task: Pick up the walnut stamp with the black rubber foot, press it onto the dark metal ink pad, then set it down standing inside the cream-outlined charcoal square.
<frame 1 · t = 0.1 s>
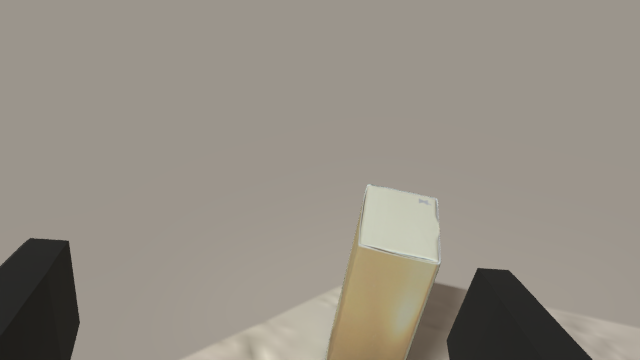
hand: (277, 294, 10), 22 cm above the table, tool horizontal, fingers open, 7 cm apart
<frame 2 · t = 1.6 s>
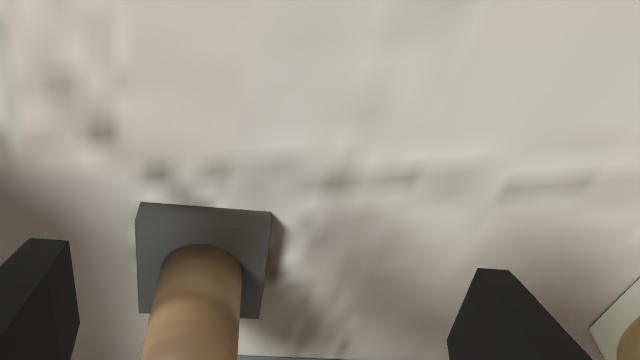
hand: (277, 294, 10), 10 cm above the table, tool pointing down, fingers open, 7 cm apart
stamp: (204, 253, 24), on the table
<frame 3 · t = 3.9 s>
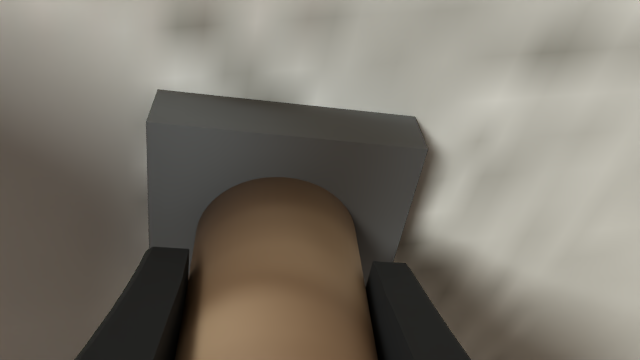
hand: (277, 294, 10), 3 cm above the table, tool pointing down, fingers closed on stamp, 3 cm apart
stamp: (276, 204, 12), on the table, touching gripper
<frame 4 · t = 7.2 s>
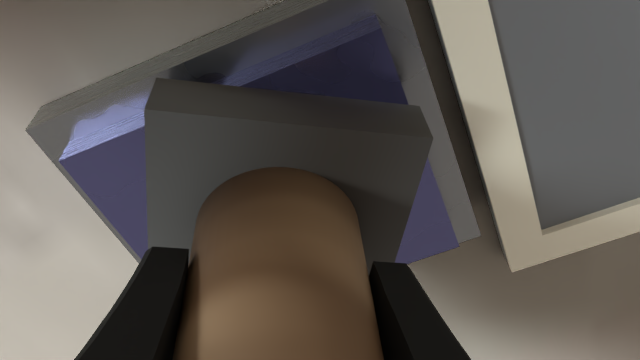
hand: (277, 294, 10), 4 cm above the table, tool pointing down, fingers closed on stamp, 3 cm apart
stamp: (277, 196, 12), point 2 cm above the table, touching gripper, ink pad
ink pad: (275, 163, 14), on the table
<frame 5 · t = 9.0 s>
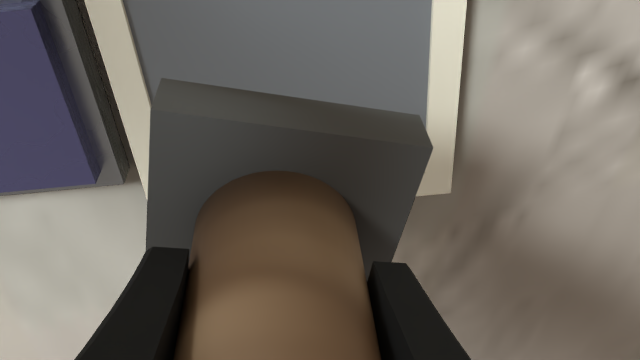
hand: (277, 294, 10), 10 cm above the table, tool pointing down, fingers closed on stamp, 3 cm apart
marked square: (287, 60, 18), on the table
stamp: (275, 199, 12), point 7 cm above the table, touching gripper
when the fingers open (4 cm above the table, at t = 10.5 s): stamp drops 1 cm, resting on marked square.
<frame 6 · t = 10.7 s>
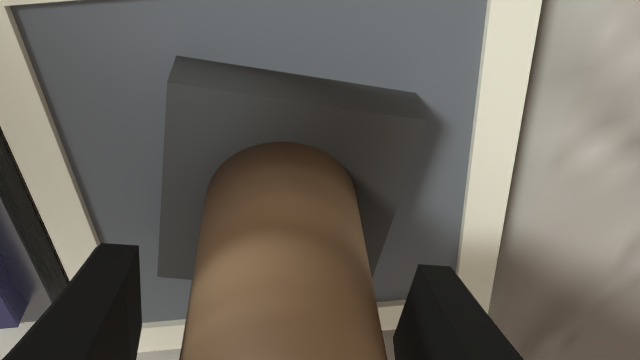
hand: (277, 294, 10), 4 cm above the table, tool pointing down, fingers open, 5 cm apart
marked square: (276, 166, 14), on the table
stamp: (280, 172, 13), resting on marked square
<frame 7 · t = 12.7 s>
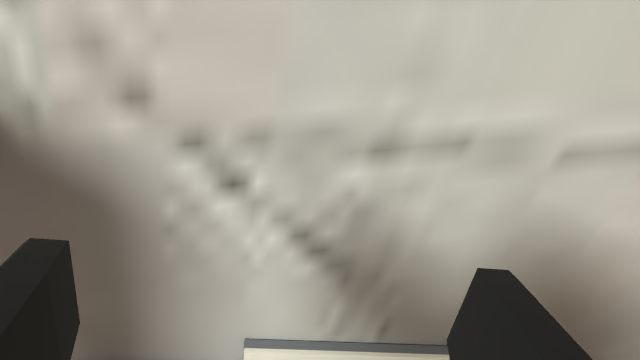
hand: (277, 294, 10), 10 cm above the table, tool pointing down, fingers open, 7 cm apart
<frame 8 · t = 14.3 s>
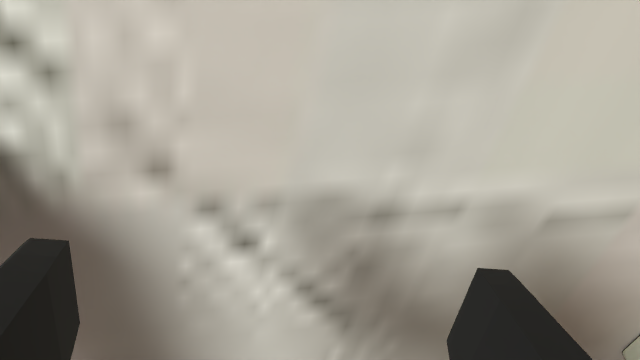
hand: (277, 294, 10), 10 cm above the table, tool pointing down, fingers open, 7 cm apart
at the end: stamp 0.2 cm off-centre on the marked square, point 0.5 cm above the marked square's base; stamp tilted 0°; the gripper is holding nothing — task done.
